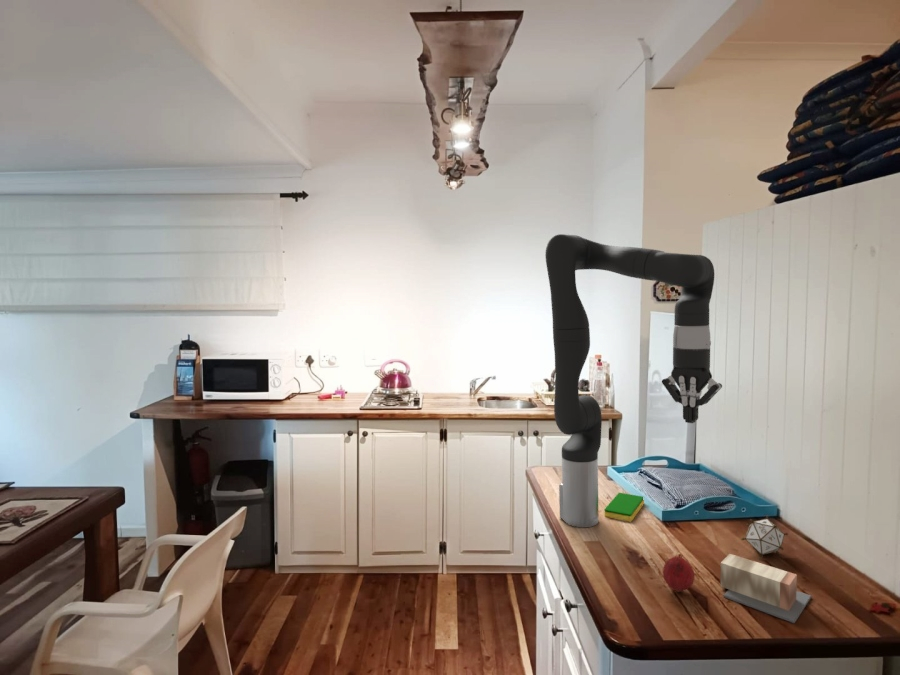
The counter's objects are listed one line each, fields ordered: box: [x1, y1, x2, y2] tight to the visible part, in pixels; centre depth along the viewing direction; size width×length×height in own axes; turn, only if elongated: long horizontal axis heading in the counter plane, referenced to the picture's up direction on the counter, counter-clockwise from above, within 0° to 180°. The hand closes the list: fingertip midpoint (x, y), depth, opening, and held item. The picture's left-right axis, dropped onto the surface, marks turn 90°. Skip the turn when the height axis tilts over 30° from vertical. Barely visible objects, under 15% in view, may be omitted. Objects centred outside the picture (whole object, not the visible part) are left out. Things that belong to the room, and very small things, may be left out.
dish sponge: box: [603, 492, 645, 522], centre depth 147 cm, size 7×14×2 cm, turn 146°
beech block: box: [720, 553, 798, 611], centre depth 104 cm, size 5×5×12 cm
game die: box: [740, 515, 789, 559], centre depth 120 cm, size 9×8×10 cm
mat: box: [723, 589, 812, 624], centre depth 104 cm, size 12×11×1 cm
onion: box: [662, 552, 695, 593], centre depth 107 cm, size 6×6×8 cm
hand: (690, 422), depth 119 cm, fingers closed
